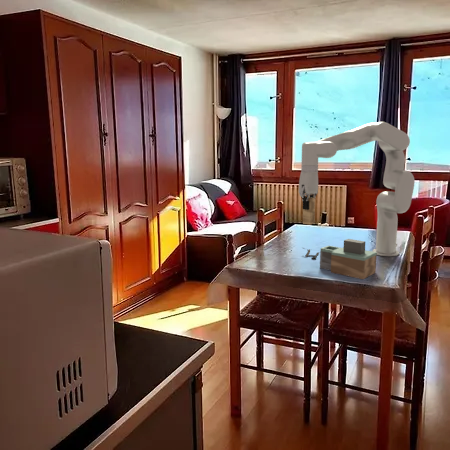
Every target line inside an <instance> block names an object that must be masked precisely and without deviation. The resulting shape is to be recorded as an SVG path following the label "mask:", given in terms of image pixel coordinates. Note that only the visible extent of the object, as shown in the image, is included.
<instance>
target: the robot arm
mask: <svg viewBox="0 0 450 450" xmlns="http://www.w3.org/2000/svg"><path fill="white" fill-rule="evenodd" d="M375 141H376V142H378V143H377V144H378V146H379V148H380V149H381V150H382V152H384V154H385V160H386V161H385V168H384V172H383V181H382V184H383V185H384V187H385V188H387V189H391V191H389V190H386V191H385V190H384V191H382V192H380V193H379V194H378V195H377V198H376V201H375V202H376V203H375V204H376V209H377V212H376V213H377V222H376V239H375V240H376V241H375V248H374V249H372V252H377V255H376V256H380V257H397V256H399V254H400V251H398V250H397V247H398V243H397V240H398V239H397V234H398V223H399V222H398V221H399V220H398V218H399V217H398V214H403V213H406V212H407V211H408V210H409V209H410V207H411V205H412V199H413V194H414V189H415V182H416V181H415V177H414V175H413V173H412V172H410V171H408V170H405V161H406V159H405V158H406V156H405V154H404V151H405V150H406V149H408V148H409V146H410V143H411V141H410V137H409V135H408V133H406V132H405V131H403V130H401V129H399V128H397V127H396V126H394V125H391V124H390V123H388V122H385V121H378V122H377V121H375V122H369V123H366V124H363V125H361V126H358V127H356V128H353V129H350V130H347V131H344V132H341V133H337V134H334V135H331V136H328V137H325V138H322V139H320V140H317V141H306V142H303V143H302V144H301V164H300V165H301V167H300V169H301V170H300V171H301V172H300V175H299V181H298V193H299V196H300V197H301V200H302V210H303V209H306V210H309V201H308V200H309V198H315V199H316V197H317V194H319V174H318V173H319V158H321V159H331V158H333V157H334V156H335V155H336V154H337V153H338V151H345V150H346V151H347V150H351V149H355V148H356V149H357V148H359V147H361V146H364V145H365V144H368V143H371V142H375ZM392 190H394V191H392Z"/></svg>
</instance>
